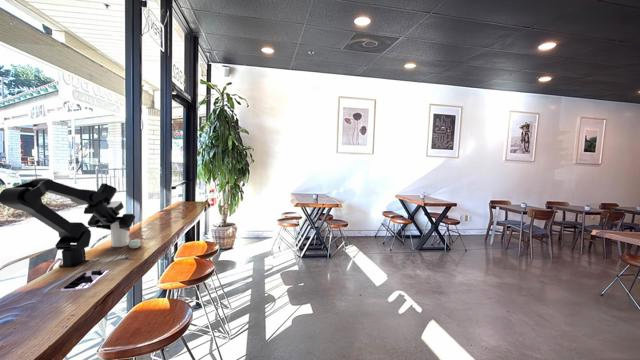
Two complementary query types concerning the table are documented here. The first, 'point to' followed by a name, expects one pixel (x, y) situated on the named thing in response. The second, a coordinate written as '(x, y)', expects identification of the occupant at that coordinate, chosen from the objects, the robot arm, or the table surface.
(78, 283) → the mobile phone
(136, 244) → the sage bowl
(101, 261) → the table surface
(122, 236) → the white rounded tall piece
